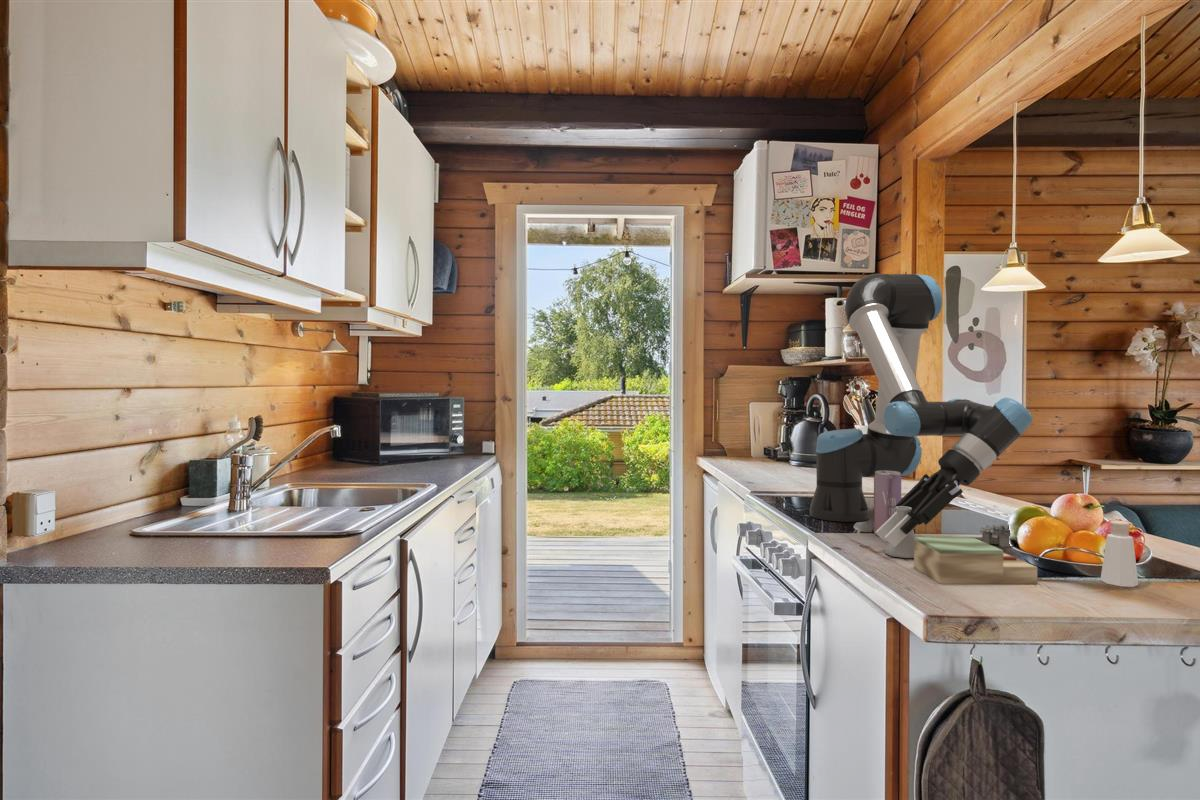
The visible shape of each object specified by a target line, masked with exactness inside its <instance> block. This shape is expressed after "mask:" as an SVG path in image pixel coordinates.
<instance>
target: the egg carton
mask: <svg viewBox="0 0 1200 800" xmlns="http://www.w3.org/2000/svg"><path fill="white" fill-rule="evenodd" d="M1009 525H1010V524H1008V523H1006V522H1003V523H1002V524H999V525H992V526H988V527H980V529H979V533H981V539H982V540H981V541H982V542H985V543H987V544H989V545H998V546H999V547H1001V548H1006V547H1007V548H1011V547H1010V544H1009V536H1010V530H1009Z"/></svg>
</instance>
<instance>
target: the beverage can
mask: <svg viewBox="0 0 1200 800" xmlns="http://www.w3.org/2000/svg"><path fill="white" fill-rule="evenodd" d="M900 474H901V473H900V472H897V471H875V475H874V477H873V533H874V534H875V536H877V537H880V536H879V535H878V534H877V533H876V531H877V530H878V529H879V528H880V527H881V526H882V525H883V524H884V523H885V522H886V521H887V520H888V519H889V518H890V517H891V516H892V515H893V514H894V513H895V512H896V511H897V510H896V504H897V503H898V502H899V501H900V500H901V499H902V476H901V475H900Z"/></svg>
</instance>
